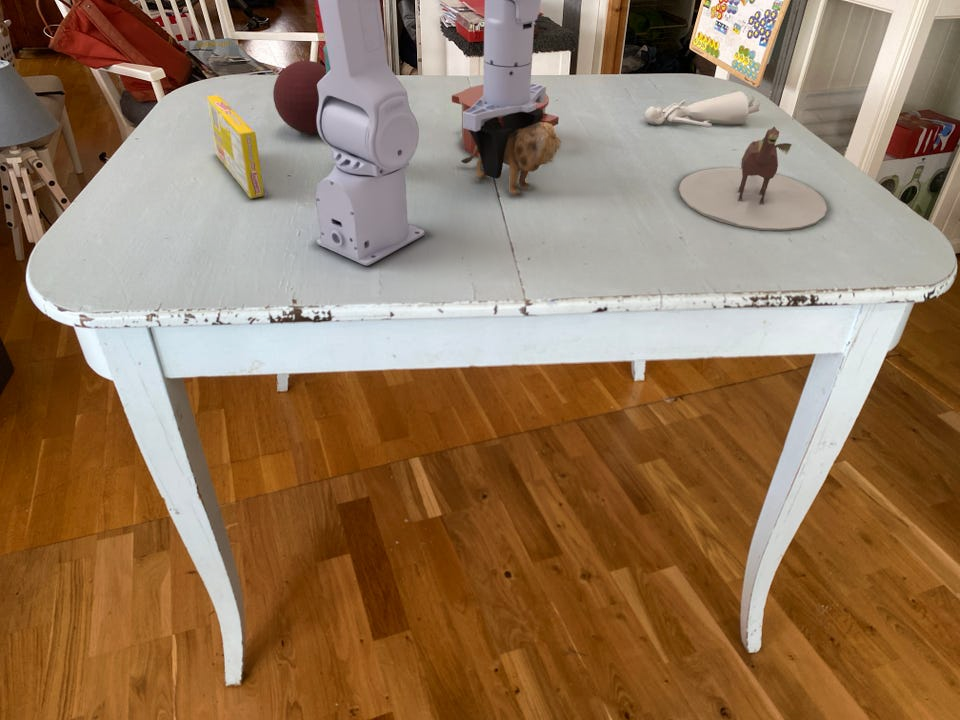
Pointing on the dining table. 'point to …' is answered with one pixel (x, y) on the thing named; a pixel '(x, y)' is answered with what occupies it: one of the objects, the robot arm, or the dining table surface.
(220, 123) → the candy box
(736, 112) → the woman figurine
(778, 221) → the brown figure on disc
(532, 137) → the lion figurine
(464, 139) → the pot
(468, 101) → the pot lid
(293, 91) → the decorative ball
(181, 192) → the dining table surface
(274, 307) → the dining table surface
